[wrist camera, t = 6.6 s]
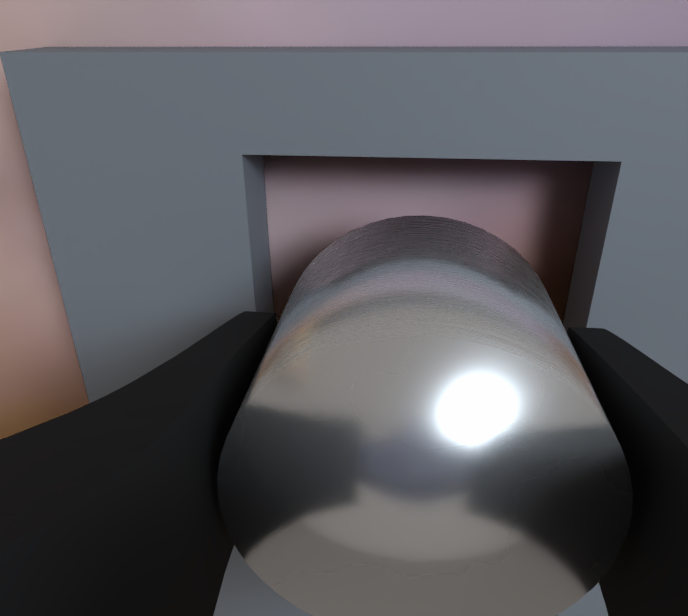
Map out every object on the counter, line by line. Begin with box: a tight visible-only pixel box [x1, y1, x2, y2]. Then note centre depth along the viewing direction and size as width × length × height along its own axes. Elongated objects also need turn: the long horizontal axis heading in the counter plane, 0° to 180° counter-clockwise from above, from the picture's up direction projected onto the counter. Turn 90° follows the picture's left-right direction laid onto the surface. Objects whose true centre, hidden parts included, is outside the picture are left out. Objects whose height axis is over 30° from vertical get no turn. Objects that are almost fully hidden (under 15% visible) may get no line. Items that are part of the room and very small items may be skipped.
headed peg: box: [217, 216, 633, 616], centre depth 10 cm, size 5×5×6 cm
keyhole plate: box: [0, 47, 688, 616], centre depth 14 cm, size 15×18×2 cm
